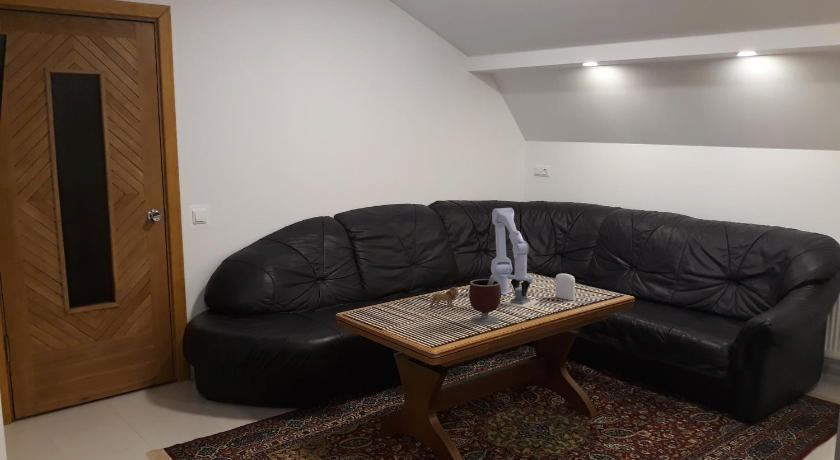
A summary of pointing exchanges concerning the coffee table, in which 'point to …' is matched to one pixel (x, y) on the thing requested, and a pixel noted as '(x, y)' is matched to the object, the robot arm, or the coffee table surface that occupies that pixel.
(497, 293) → the mate gourd
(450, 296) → the lion figurine
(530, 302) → the plate
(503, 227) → the robot arm
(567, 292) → the photo printer
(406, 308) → the coffee table surface
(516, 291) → the block
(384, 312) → the coffee table surface
